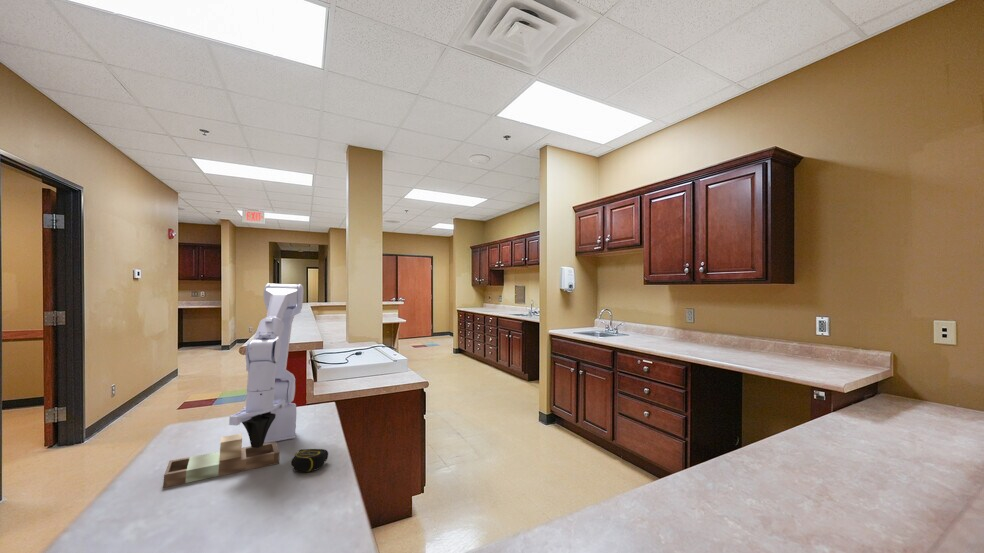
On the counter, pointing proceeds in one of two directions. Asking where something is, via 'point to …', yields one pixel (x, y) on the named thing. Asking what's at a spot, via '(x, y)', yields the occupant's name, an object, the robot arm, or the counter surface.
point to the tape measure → (309, 459)
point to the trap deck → (219, 464)
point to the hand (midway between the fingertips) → (257, 446)
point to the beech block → (230, 447)
